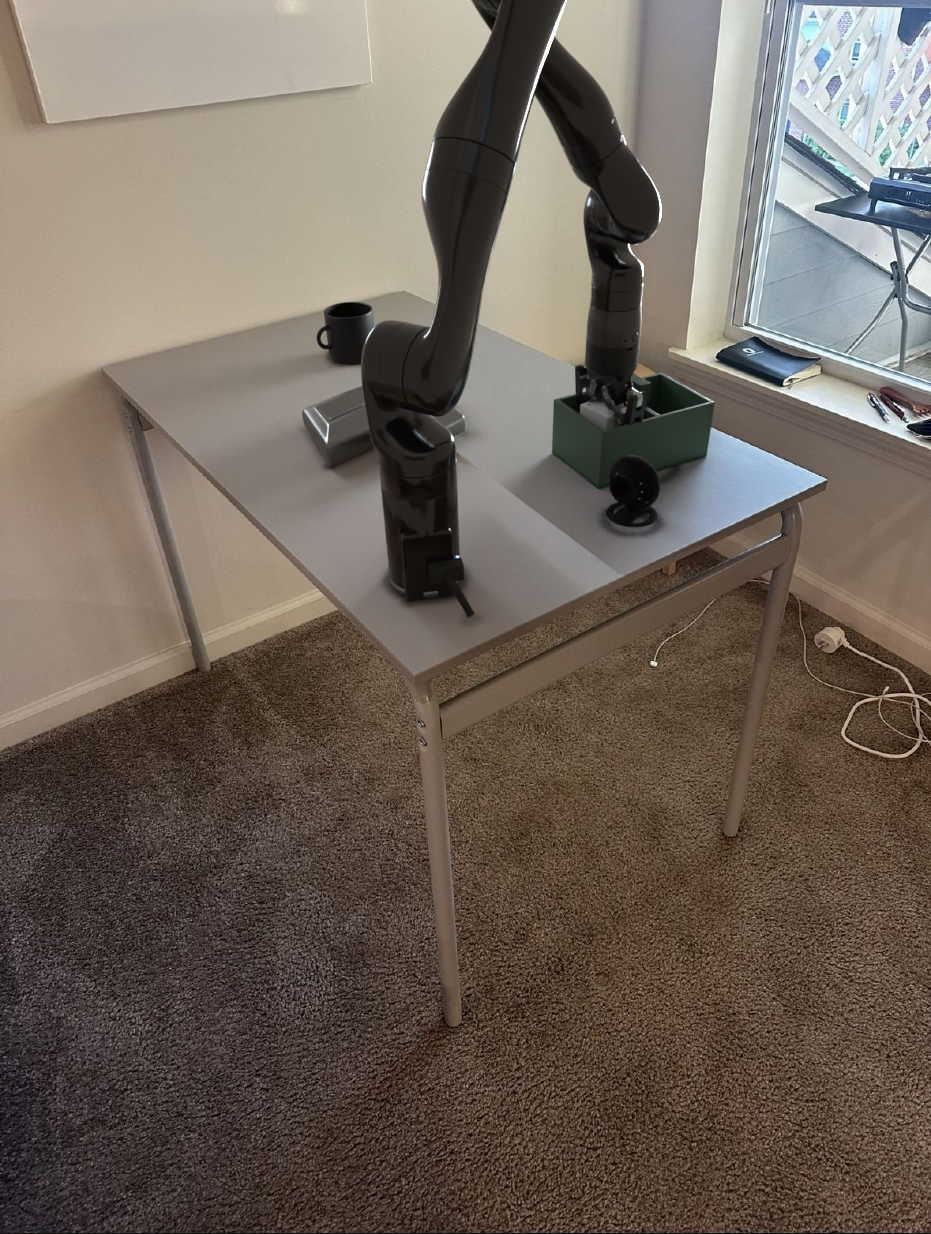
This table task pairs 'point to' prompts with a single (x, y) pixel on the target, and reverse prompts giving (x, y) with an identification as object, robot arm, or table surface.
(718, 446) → the table surface
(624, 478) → the webcam
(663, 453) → the bin
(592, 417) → the product carton
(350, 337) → the mug
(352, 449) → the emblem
